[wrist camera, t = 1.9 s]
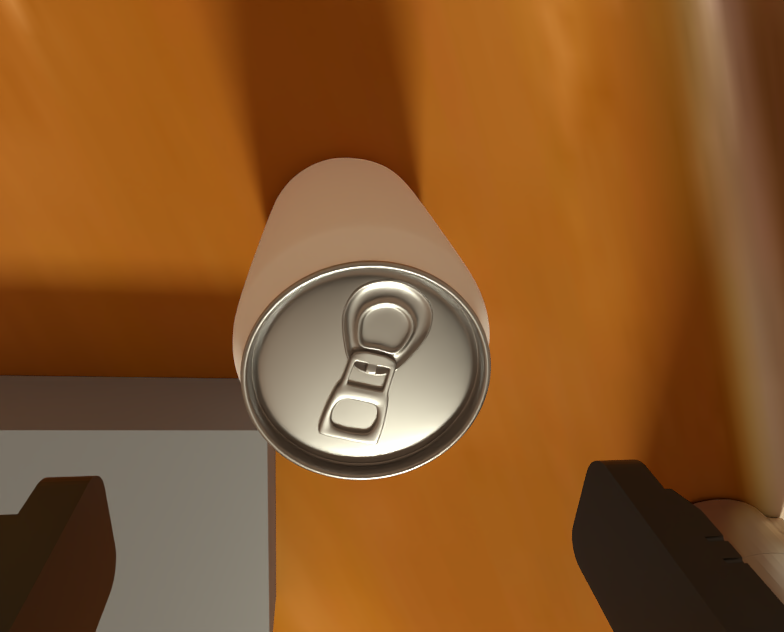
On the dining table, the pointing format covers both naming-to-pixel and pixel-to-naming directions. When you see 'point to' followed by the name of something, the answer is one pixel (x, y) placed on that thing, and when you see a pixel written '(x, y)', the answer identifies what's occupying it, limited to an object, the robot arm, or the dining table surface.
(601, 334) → the dining table surface
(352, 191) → the can
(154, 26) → the dining table surface
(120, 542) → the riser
